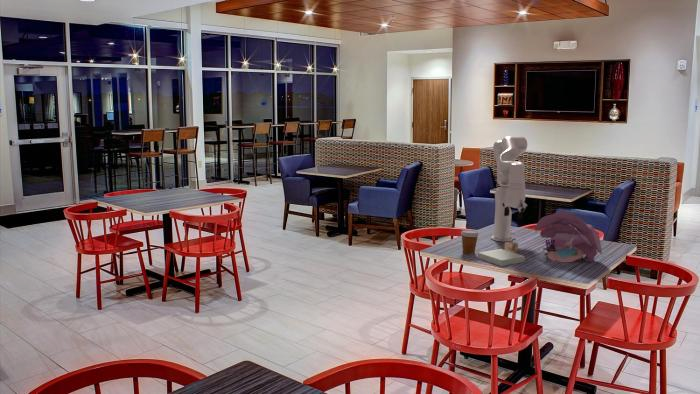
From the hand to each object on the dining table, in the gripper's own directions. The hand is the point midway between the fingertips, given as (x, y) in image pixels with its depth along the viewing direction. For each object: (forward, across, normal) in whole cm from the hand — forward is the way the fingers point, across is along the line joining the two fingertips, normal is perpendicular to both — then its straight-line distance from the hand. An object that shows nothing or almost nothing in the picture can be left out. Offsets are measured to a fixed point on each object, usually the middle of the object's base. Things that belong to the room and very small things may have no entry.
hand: (513, 217), depth 337 cm
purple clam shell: (+20, +21, +20) cm, 36 cm away
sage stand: (+20, +7, -15) cm, 26 cm away
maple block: (+20, 0, 0) cm, 20 cm away
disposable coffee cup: (+20, -12, -20) cm, 31 cm away
